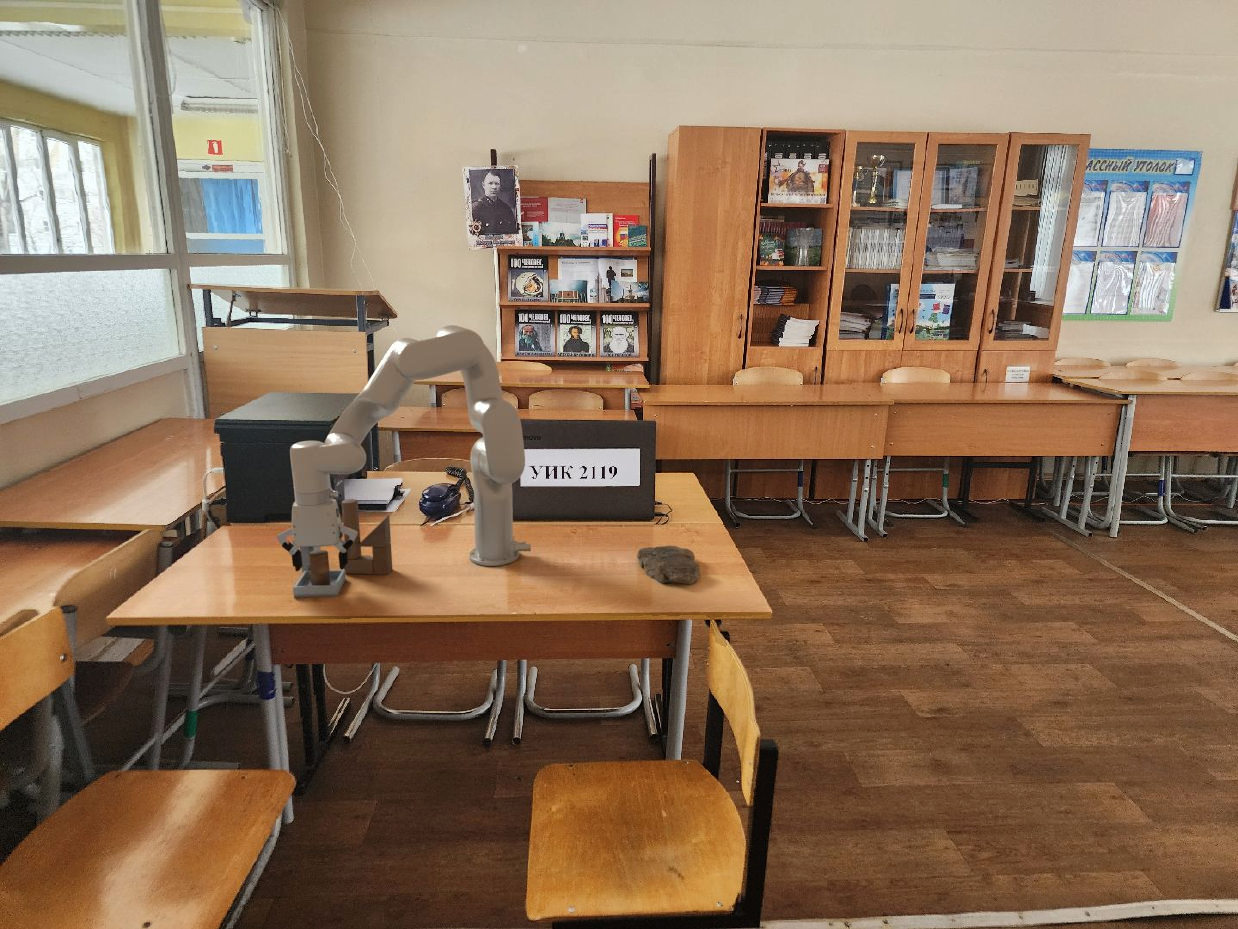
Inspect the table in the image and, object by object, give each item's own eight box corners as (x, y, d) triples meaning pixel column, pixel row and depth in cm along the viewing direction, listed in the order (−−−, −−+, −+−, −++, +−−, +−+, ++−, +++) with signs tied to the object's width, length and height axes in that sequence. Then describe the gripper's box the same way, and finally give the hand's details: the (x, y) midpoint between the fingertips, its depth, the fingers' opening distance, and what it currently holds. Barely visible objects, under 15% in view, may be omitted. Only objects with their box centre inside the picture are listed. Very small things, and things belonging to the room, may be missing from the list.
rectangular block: (322, 568, 183) (319, 537, 181) (316, 578, 177) (313, 546, 175) (309, 568, 182) (306, 537, 180) (302, 578, 177) (299, 546, 175)
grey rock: (709, 588, 177) (688, 555, 196) (710, 569, 176) (688, 538, 195) (651, 593, 175) (635, 559, 194) (652, 574, 174) (635, 541, 193)
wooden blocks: (388, 575, 180) (383, 504, 175) (343, 574, 180) (338, 503, 175) (393, 569, 183) (388, 499, 178) (349, 568, 183) (344, 498, 179)
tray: (345, 579, 177) (345, 569, 176) (336, 596, 168) (336, 586, 167) (305, 580, 175) (304, 570, 175) (293, 597, 167) (292, 587, 166)
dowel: (332, 582, 174) (329, 549, 172) (328, 589, 170) (325, 556, 168) (314, 582, 173) (311, 550, 171) (309, 589, 169) (306, 556, 167)
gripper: (357, 490, 171) (363, 559, 175) (277, 492, 168) (286, 563, 173) (350, 500, 163) (357, 572, 168) (267, 503, 161) (276, 576, 166)
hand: (321, 567), depth 171 cm, fingers open, 9 cm apart
